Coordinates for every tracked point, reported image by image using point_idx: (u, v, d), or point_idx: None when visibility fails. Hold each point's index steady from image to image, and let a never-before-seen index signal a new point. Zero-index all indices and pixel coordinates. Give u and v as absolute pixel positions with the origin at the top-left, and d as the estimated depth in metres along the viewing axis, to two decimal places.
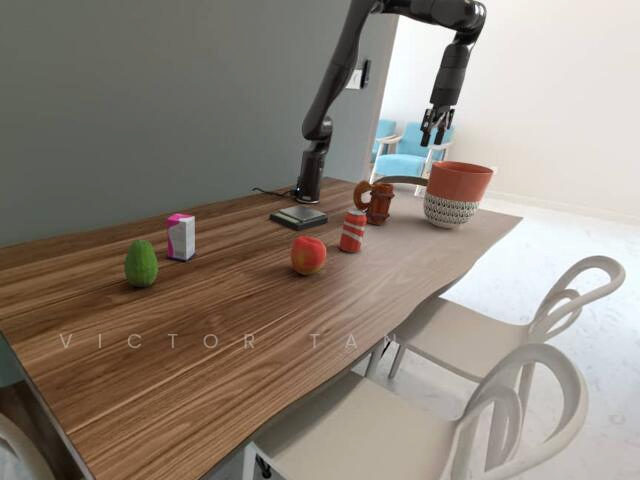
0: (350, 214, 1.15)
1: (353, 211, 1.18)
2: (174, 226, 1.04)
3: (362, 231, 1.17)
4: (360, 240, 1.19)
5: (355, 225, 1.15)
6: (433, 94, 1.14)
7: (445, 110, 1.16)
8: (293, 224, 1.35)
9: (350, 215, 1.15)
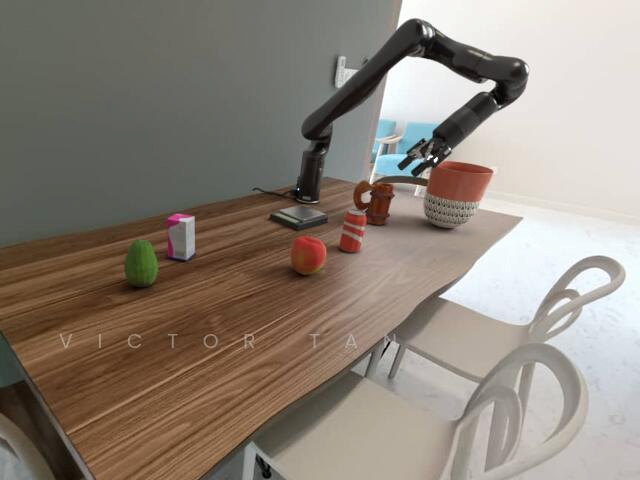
0: (350, 214, 1.15)
1: (353, 211, 1.18)
2: (174, 226, 1.04)
3: (362, 231, 1.17)
4: (360, 240, 1.19)
5: (355, 225, 1.15)
6: (451, 130, 1.04)
7: None
8: (293, 224, 1.35)
9: (350, 215, 1.15)
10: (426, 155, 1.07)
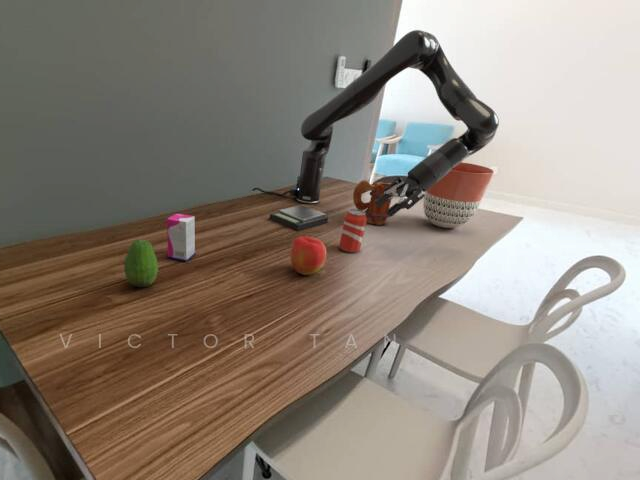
0: (350, 214, 1.15)
1: (353, 211, 1.18)
2: (174, 226, 1.04)
3: (362, 231, 1.17)
4: (360, 240, 1.19)
5: (355, 225, 1.15)
6: (425, 174, 1.09)
7: None
8: (293, 224, 1.35)
9: (350, 215, 1.15)
10: (401, 196, 1.12)
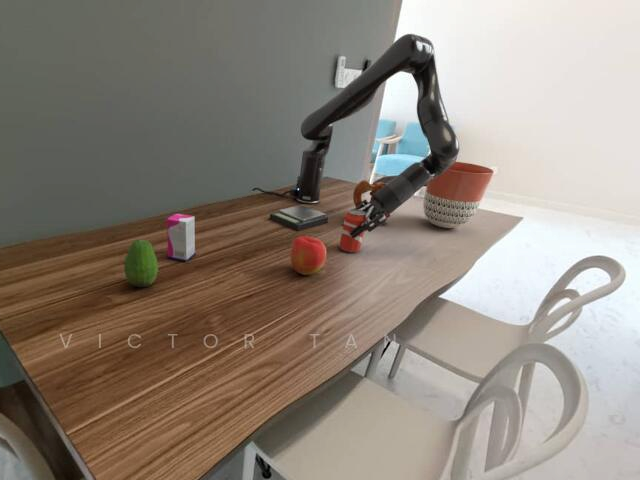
0: (350, 214, 1.15)
1: (353, 211, 1.18)
2: (174, 227, 1.04)
3: None
4: (360, 240, 1.19)
5: (355, 225, 1.15)
6: (389, 197, 1.12)
7: None
8: (293, 224, 1.35)
9: (350, 215, 1.15)
10: (364, 219, 1.15)
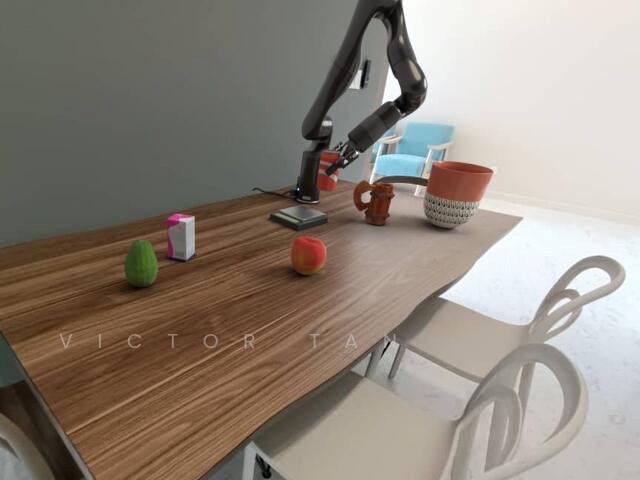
0: (325, 153, 1.21)
1: (328, 151, 1.24)
2: (174, 227, 1.04)
3: (337, 170, 1.23)
4: (335, 179, 1.24)
5: (330, 163, 1.21)
6: (361, 135, 1.17)
7: None
8: (293, 224, 1.35)
9: (325, 153, 1.21)
10: (338, 157, 1.20)
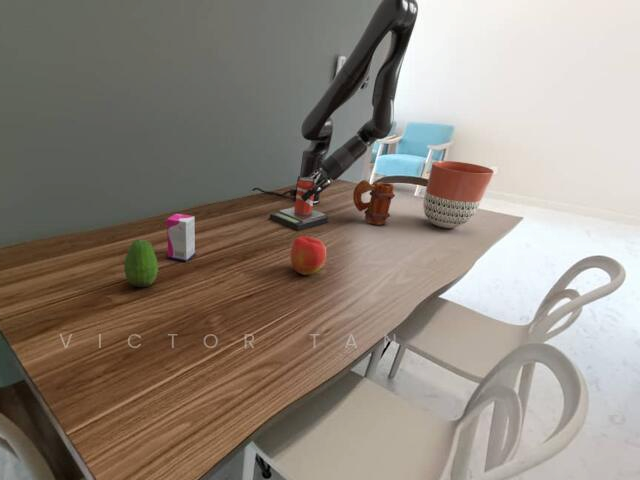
0: (301, 180, 1.36)
1: (304, 178, 1.38)
2: (174, 227, 1.04)
3: (312, 195, 1.37)
4: (311, 203, 1.39)
5: (305, 190, 1.35)
6: (332, 165, 1.32)
7: None
8: (293, 224, 1.35)
9: (301, 181, 1.35)
10: (313, 184, 1.35)
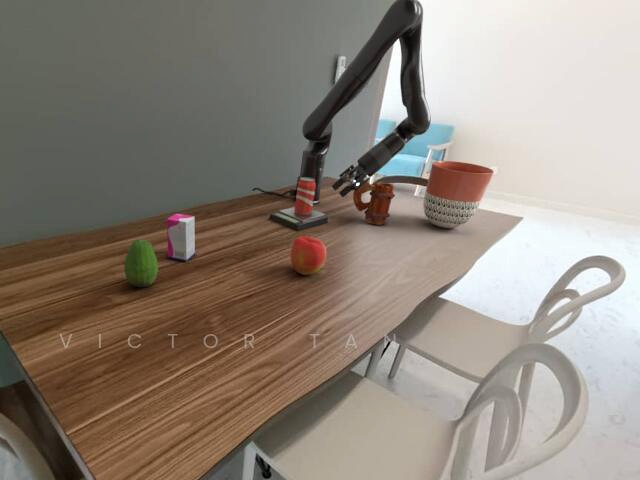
0: (301, 180, 1.36)
1: (305, 178, 1.38)
2: (174, 227, 1.04)
3: (312, 195, 1.37)
4: (311, 203, 1.39)
5: (305, 190, 1.35)
6: (370, 161, 1.32)
7: None
8: (293, 224, 1.35)
9: (302, 181, 1.35)
10: (351, 180, 1.35)
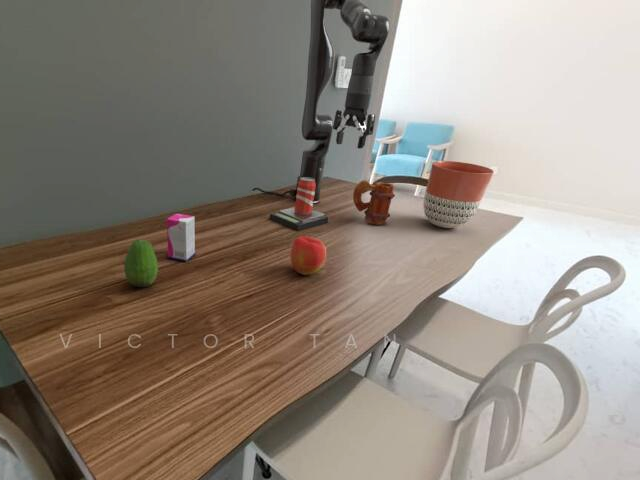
0: (301, 180, 1.36)
1: (305, 178, 1.38)
2: (174, 227, 1.04)
3: (312, 195, 1.37)
4: (311, 203, 1.39)
5: (305, 190, 1.35)
6: None
7: (355, 113, 1.26)
8: (293, 224, 1.35)
9: (302, 181, 1.35)
10: None
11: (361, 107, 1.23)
